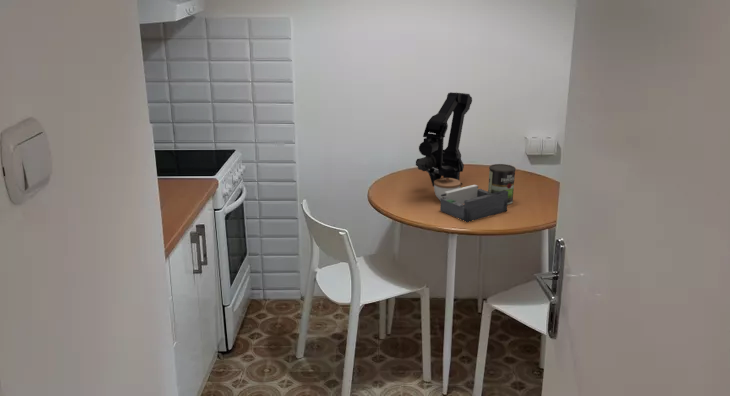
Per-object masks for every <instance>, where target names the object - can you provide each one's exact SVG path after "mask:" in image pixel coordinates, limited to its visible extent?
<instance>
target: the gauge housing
mask: <svg viewBox="0 0 730 396" xmlns="http://www.w3.org/2000/svg"><path fill="white" fill-rule="evenodd" d="M507 203H508V191H505V190H503V191H499V192H495V193H490V192H488V190H485V189H482V188H478V192H477V197H476V198H472V199H468V200H465V201H464V204H461V203H458V202H456V201H454V200H452V199H448V198H446V197H443V198H441V201H440V204H439V205H440V209H439V210H440V211H439V212H442V213H445V214H447V215H449V216H451V215H452V216H451V217H453V216H454V217H453V218H456V219H458V218H459V219H458V220H460V219H461V221H463V220H464V222H465V221H466V223H470V222H473V221H472V220H474V221H477V220H480V219H484V218H487V217H491V216H494V215H498V214H501V213H505V212H507V211H508V205H507ZM469 221H470V222H469Z"/></svg>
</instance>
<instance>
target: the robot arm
mask: <svg viewBox="0 0 730 396" xmlns="http://www.w3.org/2000/svg"><path fill="white" fill-rule="evenodd" d="M472 102H473V98H472V96H471V95H470V93H465V92H463V93H462V92H448V93H447V95H446V99H445V100H444V102H443V104H442V105H441V107H440V109H439V111H438V112H437V113H436V114H434V115H432V116H431V117H430V118H429V120H428V121H427V123H426V126H425V128H424V132H423V135H422V137H423V141H421V143H420V144H419V145H418V152H419V153H420V154H421V155H422V156H423V157H420V158H417V159H416V160H415V166H416V167H417V169H418V170H420V171H422V172H427V173H428V175H429V177H430V181H431V184H432V187H433V188H434V181H435V180H436V179H439V178H447V177H448V178H453V179H457V180H459V181H460V173H462V172H464V167H465V164H464V162H463V159H462V154H461V151H460V143H461V137H462V130H463V125H464V120H465V115H467V113H468V112H469V110H470V109H471V108H470V107H471V106H472ZM451 116H452V119H451V126H450V131H449V137H448V142H447V146H446V148H444V138H446V133H447V130H448V128H449V125H448V121H449V119H450V117H451ZM461 185H462V182H461Z"/></svg>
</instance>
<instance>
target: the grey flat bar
mask: <svg viewBox="0 0 730 396" xmlns="http://www.w3.org/2000/svg"><path fill="white" fill-rule="evenodd" d="M478 189H479V185H477V184H471V185H467V186H464V187H462V186H461V187H460V188H458V189H454V190H450V191H446V192H444V194H442V195H441V196H444V197H446V198H448V199H452V200H454V201H456V202H458V203H461V204H463V205H464V201H465V200H468V199H472V198H476V197H477V192H478Z"/></svg>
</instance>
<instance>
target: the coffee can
mask: <svg viewBox="0 0 730 396" xmlns="http://www.w3.org/2000/svg"><path fill="white" fill-rule="evenodd" d="M488 168H489V169H488V170H489V171H488V172H489V173H488V174H489V175H488V187H487V189H488V190H487V191H488V192H490V193H495V192H499V191H503V190H505V191H508V203H507V206H508V205H511V204H513V202H514V189H515V178H516V177H515V175H516V167H515V166H513V165H511V164H505V163H495V164H491V165H489V167H488Z"/></svg>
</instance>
